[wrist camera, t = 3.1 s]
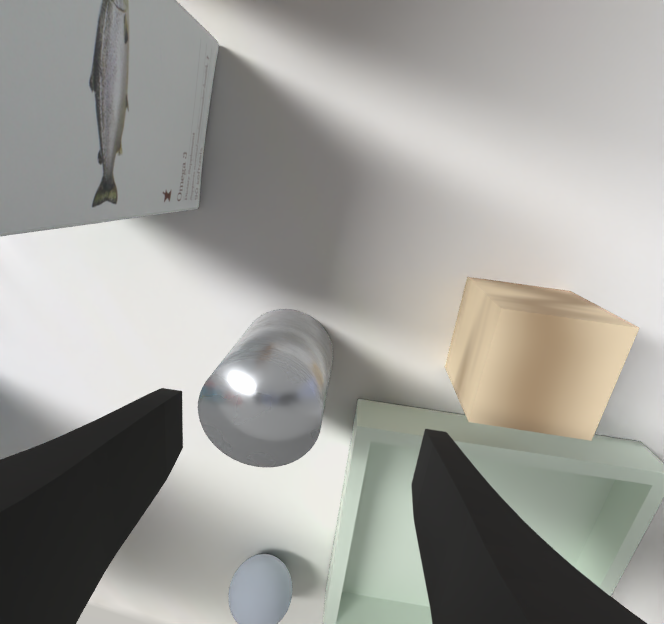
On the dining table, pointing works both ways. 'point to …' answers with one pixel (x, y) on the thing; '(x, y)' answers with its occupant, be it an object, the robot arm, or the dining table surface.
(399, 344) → the dining table surface
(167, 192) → the supplement box
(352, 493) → the sage tray
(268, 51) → the dining table surface
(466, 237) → the dining table surface
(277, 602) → the rubber ball
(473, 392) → the maple block
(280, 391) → the grey can
